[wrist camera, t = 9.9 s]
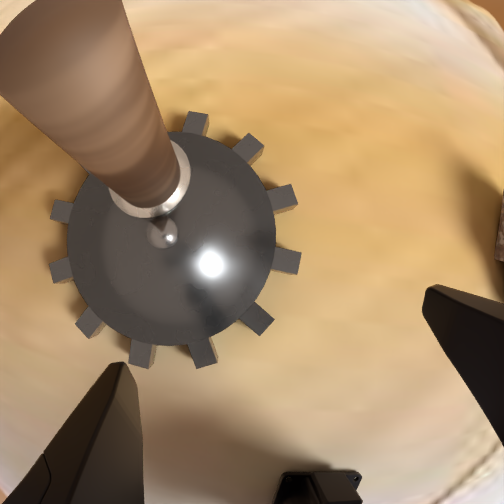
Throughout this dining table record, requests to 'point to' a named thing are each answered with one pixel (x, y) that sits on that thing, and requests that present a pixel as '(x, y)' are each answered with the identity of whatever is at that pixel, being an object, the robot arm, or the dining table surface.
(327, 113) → the dining table surface
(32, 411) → the dining table surface
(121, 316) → the sprocket plate
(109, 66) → the brown cylinder
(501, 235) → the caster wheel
